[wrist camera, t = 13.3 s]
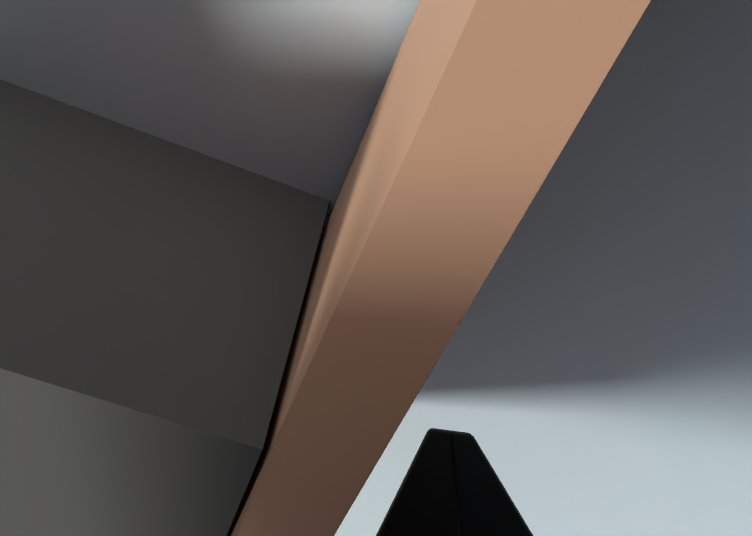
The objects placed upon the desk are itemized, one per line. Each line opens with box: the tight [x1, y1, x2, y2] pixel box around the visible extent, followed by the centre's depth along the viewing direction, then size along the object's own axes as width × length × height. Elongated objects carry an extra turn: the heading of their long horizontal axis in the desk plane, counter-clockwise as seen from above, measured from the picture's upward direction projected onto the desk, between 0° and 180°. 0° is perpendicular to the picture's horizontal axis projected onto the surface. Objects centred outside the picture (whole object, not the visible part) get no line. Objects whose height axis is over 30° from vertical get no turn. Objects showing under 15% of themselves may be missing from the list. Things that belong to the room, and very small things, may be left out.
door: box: [227, 0, 651, 536], centre depth 8 cm, size 11×1×5 cm, turn 157°
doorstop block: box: [0, 80, 329, 536], centre depth 9 cm, size 6×4×6 cm
